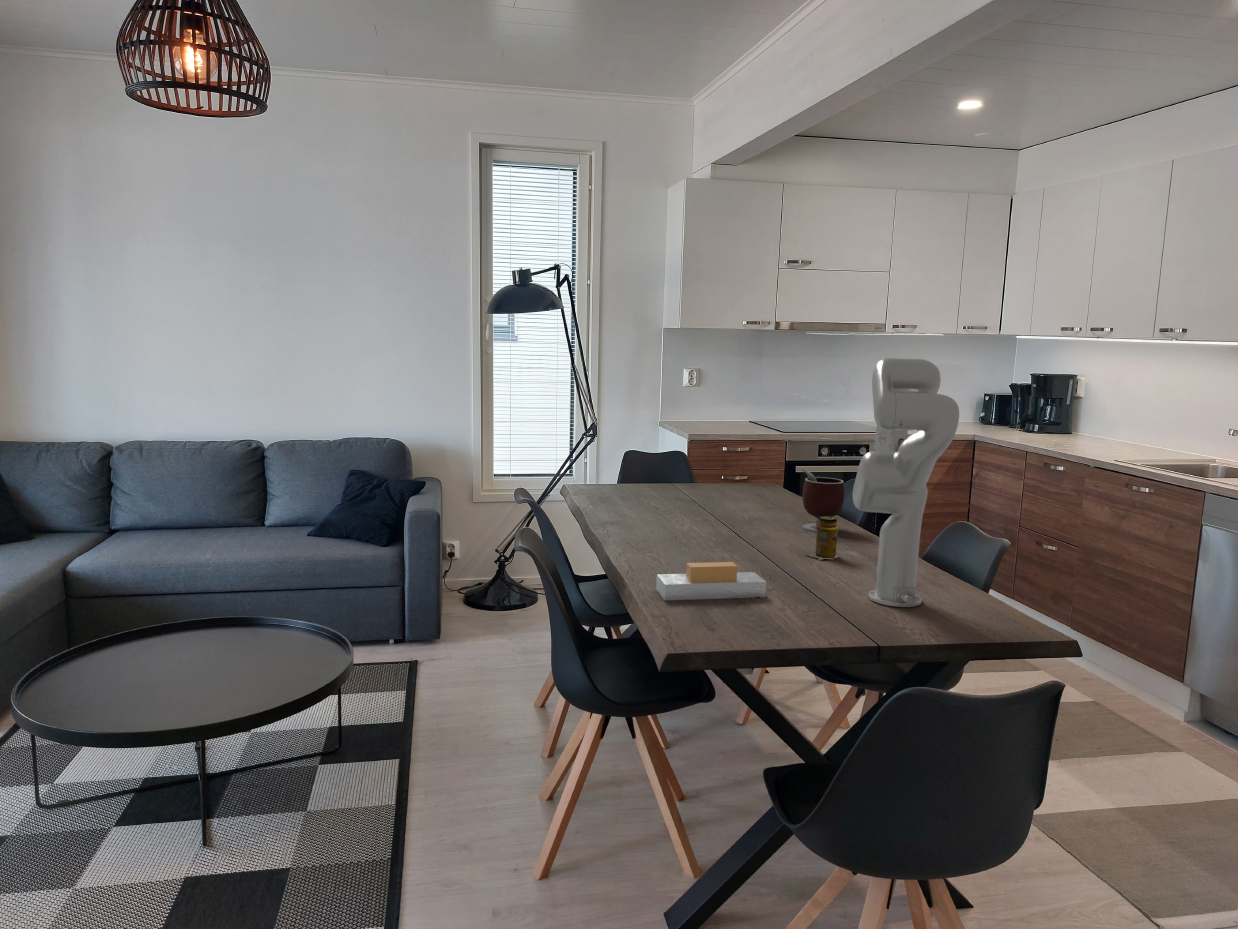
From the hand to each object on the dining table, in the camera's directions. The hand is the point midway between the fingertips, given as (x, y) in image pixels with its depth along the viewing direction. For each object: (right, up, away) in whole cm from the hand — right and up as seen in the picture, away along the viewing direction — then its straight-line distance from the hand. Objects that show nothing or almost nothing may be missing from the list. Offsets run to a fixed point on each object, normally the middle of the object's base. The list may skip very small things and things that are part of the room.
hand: (889, 474), depth 232 cm
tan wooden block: (-51, -29, -17) cm, 61 cm away
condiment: (-13, -25, +23) cm, 36 cm away
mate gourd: (-5, -20, +62) cm, 65 cm away
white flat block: (-51, -30, -17) cm, 61 cm away
